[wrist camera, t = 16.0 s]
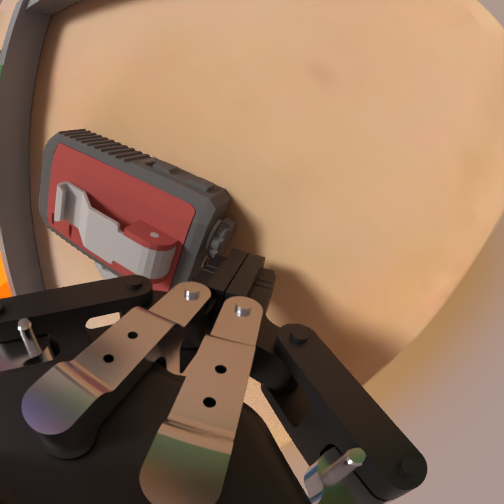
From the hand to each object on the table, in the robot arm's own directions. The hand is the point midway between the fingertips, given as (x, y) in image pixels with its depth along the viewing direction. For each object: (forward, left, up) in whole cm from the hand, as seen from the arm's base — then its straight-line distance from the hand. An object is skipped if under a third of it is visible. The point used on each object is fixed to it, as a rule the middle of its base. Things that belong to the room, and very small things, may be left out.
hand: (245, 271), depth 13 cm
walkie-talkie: (0, +5, -2) cm, 5 cm away
